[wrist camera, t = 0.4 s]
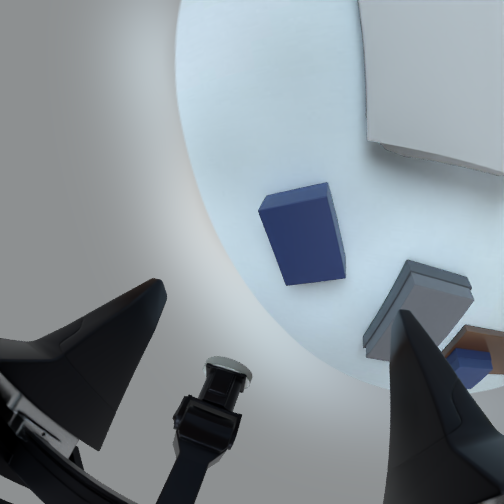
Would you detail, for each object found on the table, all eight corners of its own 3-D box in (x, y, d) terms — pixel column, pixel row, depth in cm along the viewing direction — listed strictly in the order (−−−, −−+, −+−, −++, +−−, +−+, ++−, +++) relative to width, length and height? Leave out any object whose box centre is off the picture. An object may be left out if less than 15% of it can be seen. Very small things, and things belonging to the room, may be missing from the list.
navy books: (489, 352, 22) (494, 369, 20) (468, 373, 25) (471, 389, 23) (455, 347, 24) (459, 366, 21) (434, 370, 27) (436, 388, 24)
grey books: (417, 346, 26) (419, 368, 24) (362, 336, 27) (362, 359, 25) (467, 277, 20) (477, 299, 17) (407, 259, 21) (413, 283, 18)
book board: (511, 369, 24) (512, 374, 24) (430, 363, 27) (431, 369, 27) (540, 338, 20) (542, 343, 19) (465, 324, 23) (466, 331, 22)
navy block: (345, 257, 23) (345, 278, 20) (291, 265, 25) (285, 286, 22) (327, 181, 19) (327, 196, 17) (266, 195, 21) (257, 210, 19)
